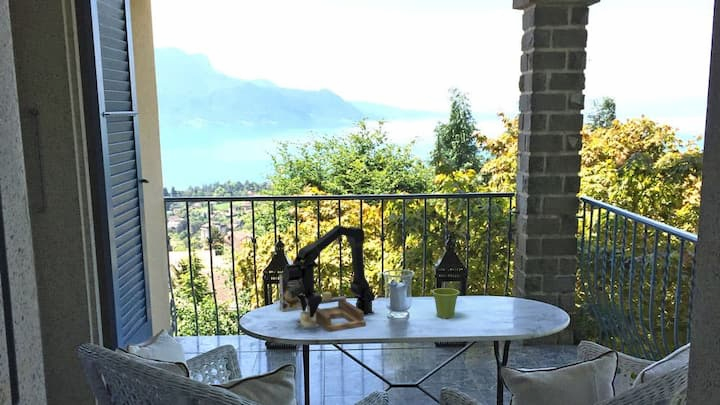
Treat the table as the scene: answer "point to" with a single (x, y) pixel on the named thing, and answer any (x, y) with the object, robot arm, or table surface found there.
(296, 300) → the coffee box
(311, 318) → the beech block
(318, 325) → the slate mat
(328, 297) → the latch bar
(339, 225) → the robot arm
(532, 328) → the table surface
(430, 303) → the table surface
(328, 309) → the puzzle board
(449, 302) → the plant pot
